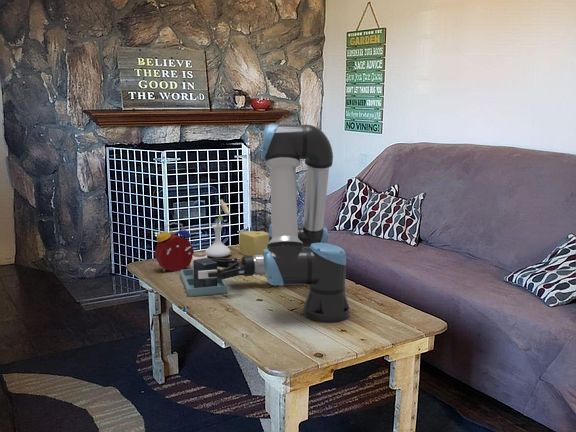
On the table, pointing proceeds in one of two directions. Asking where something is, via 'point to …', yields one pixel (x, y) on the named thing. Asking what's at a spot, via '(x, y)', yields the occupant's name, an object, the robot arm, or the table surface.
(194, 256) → the jar
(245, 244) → the yellow block
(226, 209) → the flower in vase
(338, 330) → the table surface
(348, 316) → the robot arm
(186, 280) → the tray
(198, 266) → the box
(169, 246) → the alarm clock
